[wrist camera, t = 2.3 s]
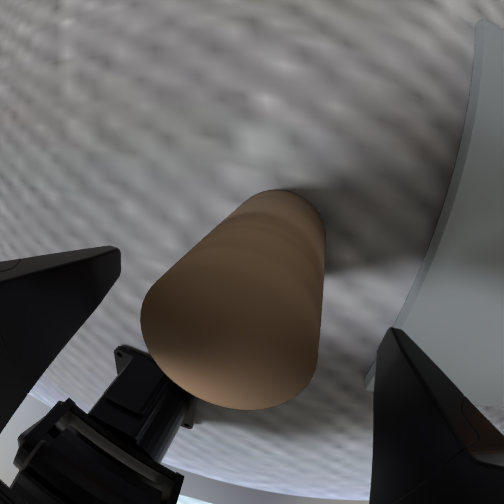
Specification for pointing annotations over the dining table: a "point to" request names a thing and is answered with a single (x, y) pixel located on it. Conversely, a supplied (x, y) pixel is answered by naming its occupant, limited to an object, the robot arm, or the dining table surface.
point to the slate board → (468, 247)
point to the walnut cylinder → (243, 306)
